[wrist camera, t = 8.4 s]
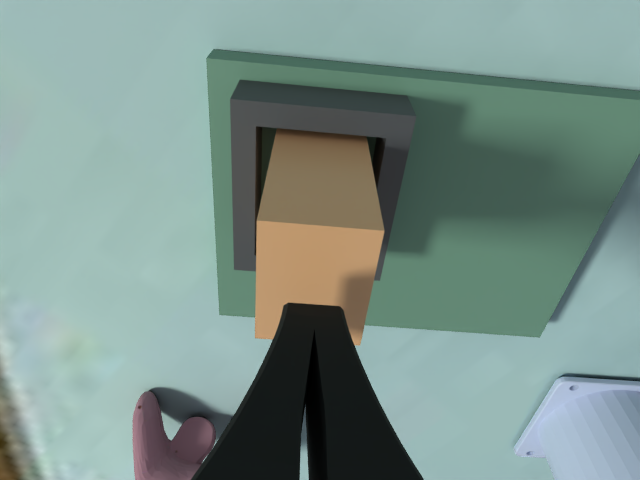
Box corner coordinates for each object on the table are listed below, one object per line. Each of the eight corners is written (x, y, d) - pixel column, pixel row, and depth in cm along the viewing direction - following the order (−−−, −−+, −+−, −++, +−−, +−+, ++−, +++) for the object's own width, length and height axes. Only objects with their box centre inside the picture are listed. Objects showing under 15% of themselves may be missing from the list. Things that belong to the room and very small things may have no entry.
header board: (647, 91, 17) (706, 124, 14) (530, 320, 24) (556, 369, 21) (213, 49, 16) (192, 75, 14) (223, 297, 23) (211, 346, 21)
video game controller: (157, 400, 31) (139, 521, 28) (130, 388, 27) (105, 529, 24) (303, 398, 31) (302, 520, 27) (298, 385, 27) (296, 527, 23)
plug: (363, 120, 16) (384, 231, 11) (349, 214, 19) (359, 345, 13) (280, 112, 16) (256, 220, 11) (276, 208, 19) (254, 338, 13)
